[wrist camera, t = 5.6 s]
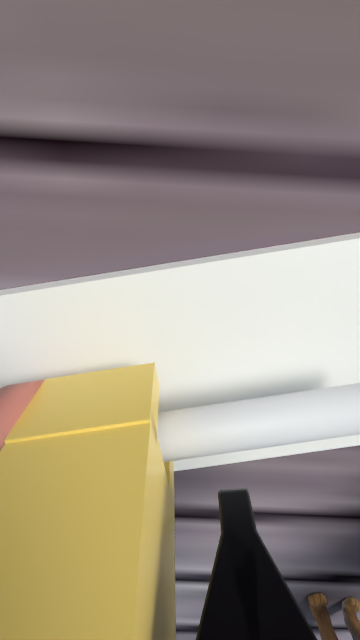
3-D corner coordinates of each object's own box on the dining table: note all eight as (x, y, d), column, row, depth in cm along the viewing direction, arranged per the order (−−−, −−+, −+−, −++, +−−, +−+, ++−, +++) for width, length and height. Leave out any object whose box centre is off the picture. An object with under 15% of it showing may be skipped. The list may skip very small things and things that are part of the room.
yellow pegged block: (154, 362, 11) (129, 650, 4) (173, 450, 13) (178, 766, 6) (45, 379, 11) (-161, 686, 4) (77, 464, 13) (-33, 791, 6)
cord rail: (381, 228, 12) (719, 284, 5) (362, 428, 16) (531, 633, 8) (-158, 315, 13) (-619, 486, 5) (-52, 487, 16) (-232, 727, 9)
